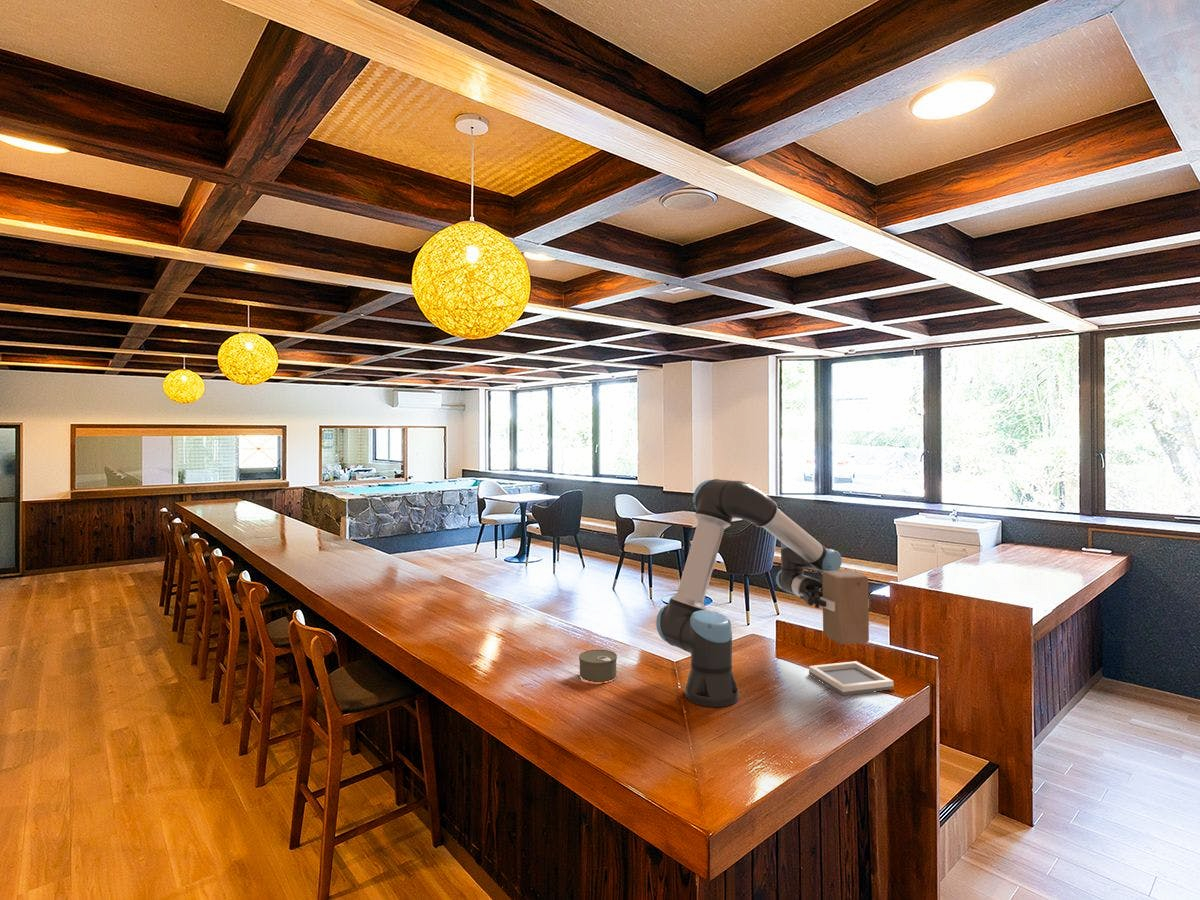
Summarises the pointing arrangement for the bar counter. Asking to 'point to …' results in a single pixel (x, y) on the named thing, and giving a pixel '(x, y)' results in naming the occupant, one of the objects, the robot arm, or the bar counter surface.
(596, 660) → the can
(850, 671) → the locating plate
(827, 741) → the bar counter surface
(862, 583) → the wooden block
